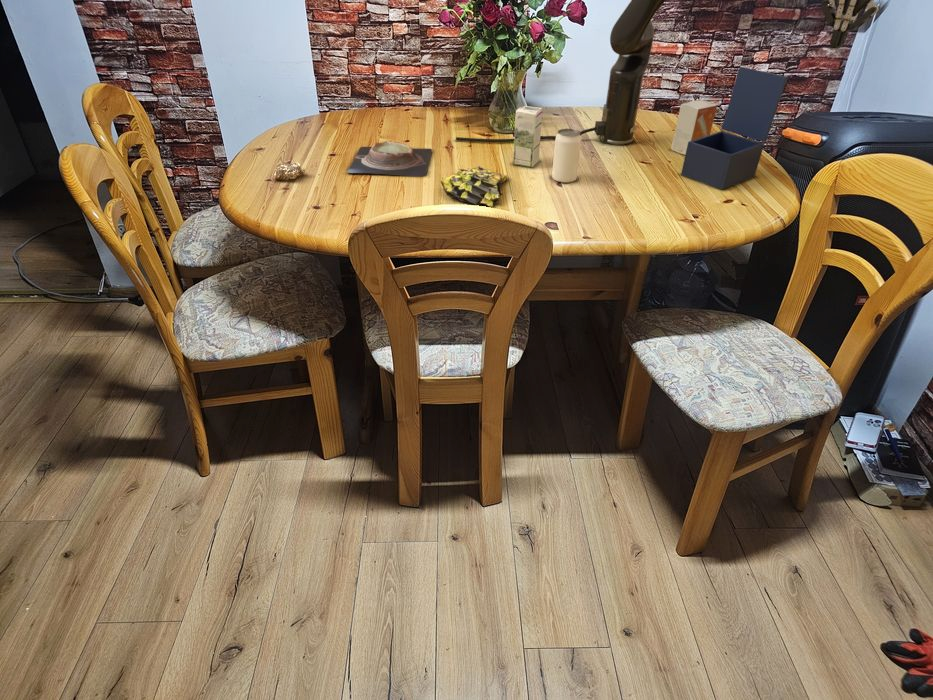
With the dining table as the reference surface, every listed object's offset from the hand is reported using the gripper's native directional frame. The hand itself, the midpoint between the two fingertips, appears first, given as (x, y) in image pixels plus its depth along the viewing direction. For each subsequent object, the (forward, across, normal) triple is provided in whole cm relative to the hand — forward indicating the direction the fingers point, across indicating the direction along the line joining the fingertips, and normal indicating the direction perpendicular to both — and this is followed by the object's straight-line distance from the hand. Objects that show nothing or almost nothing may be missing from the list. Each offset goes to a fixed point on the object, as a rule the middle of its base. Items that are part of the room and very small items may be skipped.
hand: (835, 47), depth 147 cm
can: (+31, -34, -51) cm, 69 cm away
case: (+31, -11, -17) cm, 37 cm away
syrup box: (+32, -48, -52) cm, 78 cm away
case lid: (+14, -11, -10) cm, 20 cm away
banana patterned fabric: (+32, -42, -73) cm, 90 cm away
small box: (+31, -28, -8) cm, 42 cm away
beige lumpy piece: (+32, -77, -108) cm, 136 cm away
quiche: (+32, -71, -81) cm, 112 cm away
